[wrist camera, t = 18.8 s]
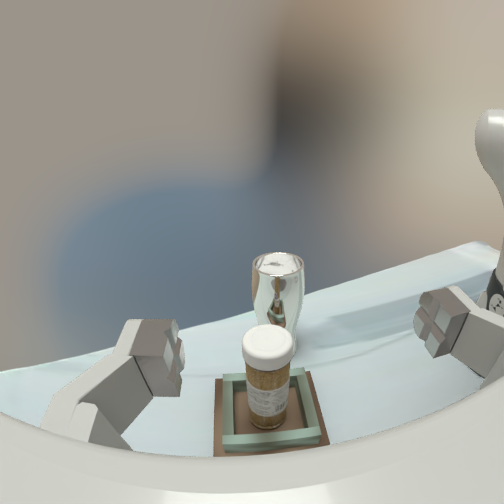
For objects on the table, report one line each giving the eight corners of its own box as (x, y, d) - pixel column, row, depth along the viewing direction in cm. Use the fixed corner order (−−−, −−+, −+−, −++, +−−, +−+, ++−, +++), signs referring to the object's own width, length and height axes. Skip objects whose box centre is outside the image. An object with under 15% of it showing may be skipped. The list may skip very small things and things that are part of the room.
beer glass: (274, 328, 46) (274, 246, 40) (308, 345, 42) (316, 260, 36) (245, 349, 42) (239, 264, 35) (280, 371, 37) (283, 283, 31)
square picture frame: (308, 375, 36) (311, 359, 35) (330, 453, 24) (336, 441, 23) (216, 383, 36) (213, 367, 34) (214, 465, 24) (209, 454, 22)
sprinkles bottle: (271, 396, 32) (272, 316, 27) (294, 418, 29) (304, 341, 23) (241, 412, 30) (231, 334, 24) (262, 437, 27) (261, 364, 21)
